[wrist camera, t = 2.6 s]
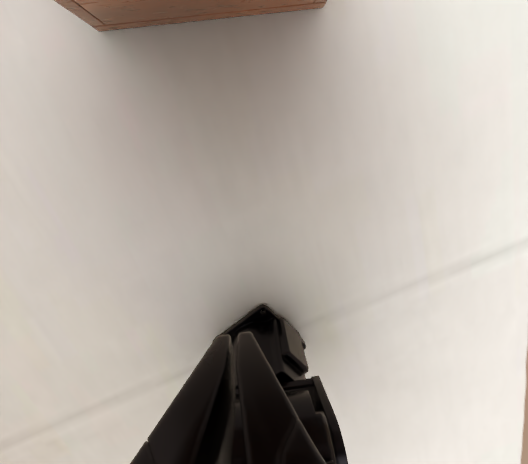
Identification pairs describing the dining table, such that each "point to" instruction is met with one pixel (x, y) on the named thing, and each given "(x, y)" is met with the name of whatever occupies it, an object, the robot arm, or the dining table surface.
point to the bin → (174, 10)
